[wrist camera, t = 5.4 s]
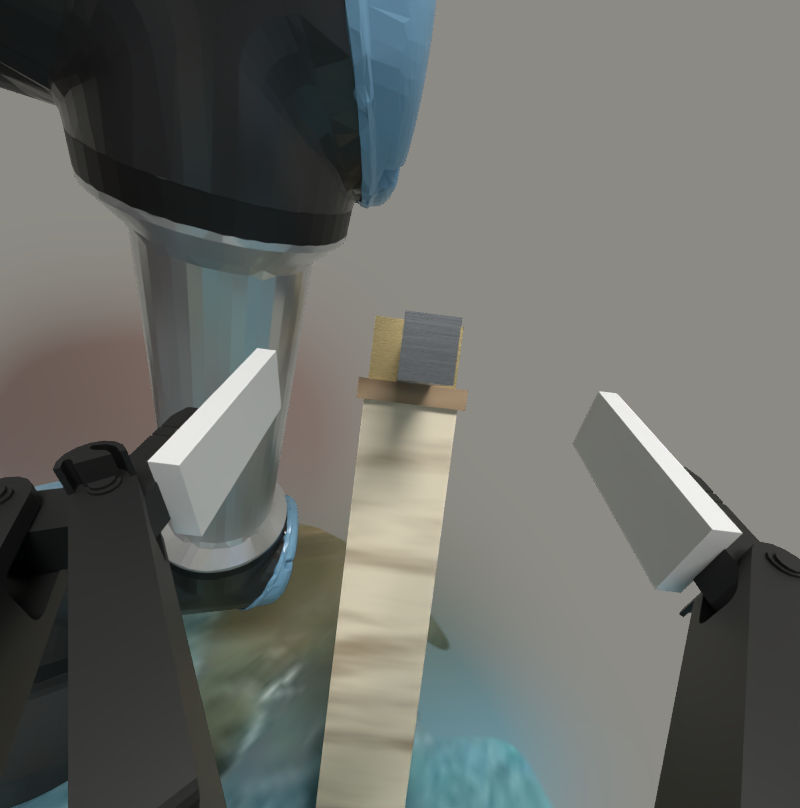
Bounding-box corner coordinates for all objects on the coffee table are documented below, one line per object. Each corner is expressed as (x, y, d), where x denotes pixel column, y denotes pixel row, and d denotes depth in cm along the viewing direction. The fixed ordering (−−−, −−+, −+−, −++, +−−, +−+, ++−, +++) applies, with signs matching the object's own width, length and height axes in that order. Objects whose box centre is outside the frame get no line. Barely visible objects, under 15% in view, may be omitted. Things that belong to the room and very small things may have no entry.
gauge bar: (503, 392, 15) (519, 278, 15) (346, 372, 15) (359, 257, 15) (445, 388, 33) (452, 336, 33) (372, 380, 33) (379, 327, 33)
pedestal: (406, 853, 27) (467, 390, 25) (304, 843, 27) (359, 377, 25) (403, 747, 35) (450, 389, 33) (325, 739, 35) (367, 379, 33)
